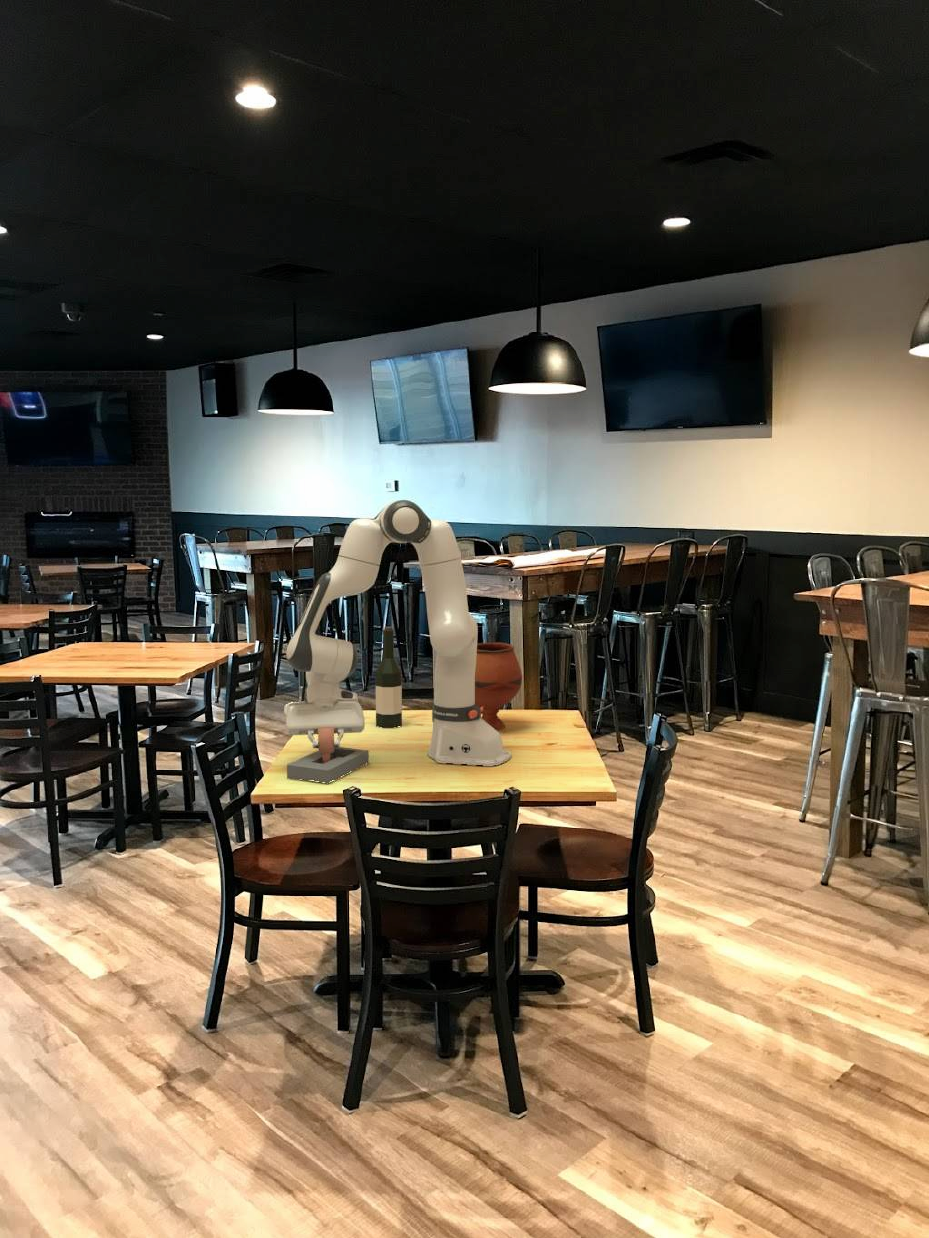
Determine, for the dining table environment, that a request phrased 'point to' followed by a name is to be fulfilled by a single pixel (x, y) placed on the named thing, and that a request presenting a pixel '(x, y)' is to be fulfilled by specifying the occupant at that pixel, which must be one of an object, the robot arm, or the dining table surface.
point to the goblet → (495, 680)
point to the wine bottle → (388, 685)
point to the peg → (326, 742)
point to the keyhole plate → (327, 765)
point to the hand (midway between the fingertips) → (326, 746)
